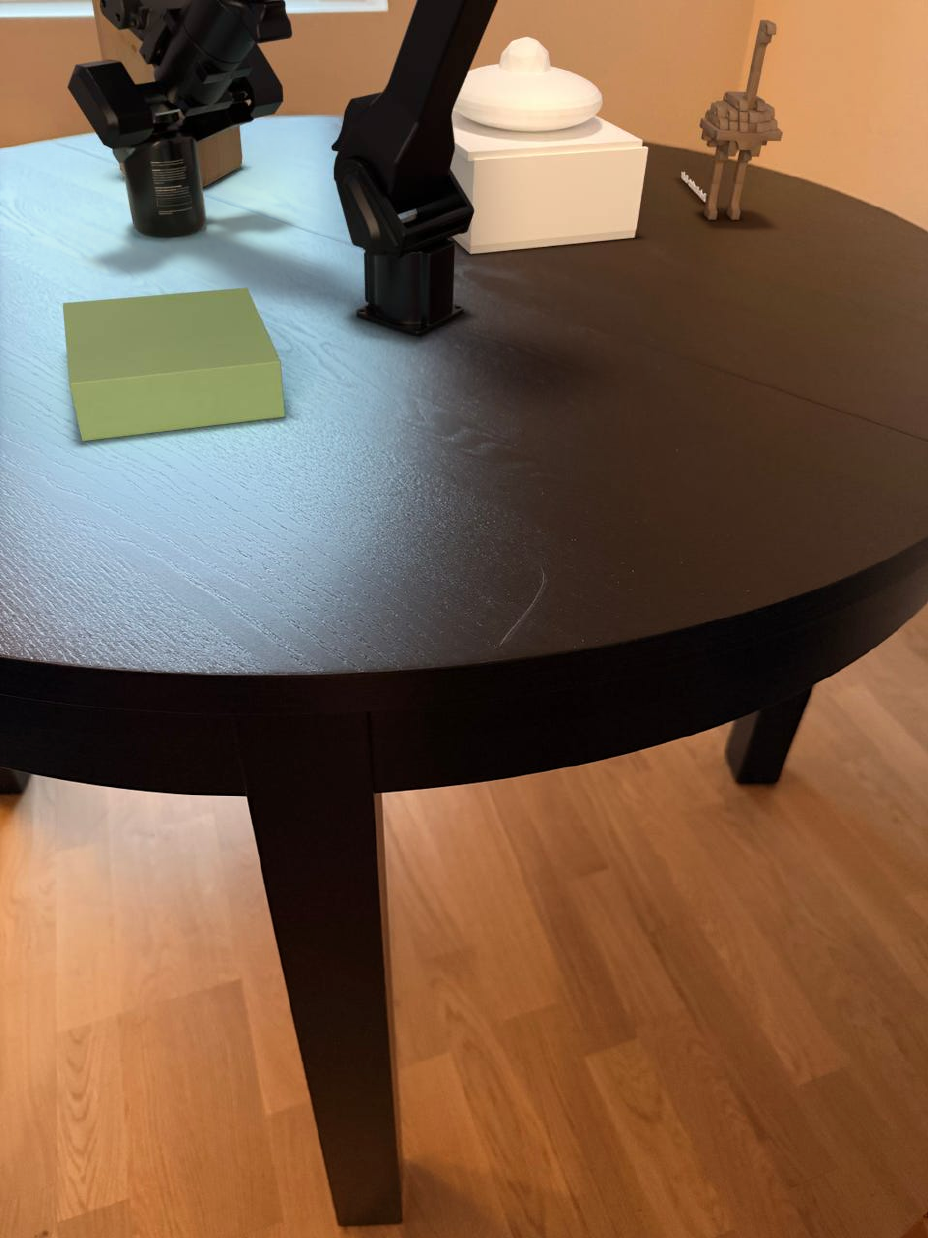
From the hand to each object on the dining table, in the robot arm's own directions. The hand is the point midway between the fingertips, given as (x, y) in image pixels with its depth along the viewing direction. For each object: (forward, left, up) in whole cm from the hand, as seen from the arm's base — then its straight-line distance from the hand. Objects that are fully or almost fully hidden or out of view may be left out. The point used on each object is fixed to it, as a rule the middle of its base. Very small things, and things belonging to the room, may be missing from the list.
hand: (150, 150), depth 91 cm
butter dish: (-24, -25, -7) cm, 35 cm away
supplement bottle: (-1, 0, -7) cm, 7 cm away
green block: (-26, +22, -7) cm, 35 cm away
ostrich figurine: (-37, -43, -7) cm, 57 cm away
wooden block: (+11, -13, -7) cm, 18 cm away
